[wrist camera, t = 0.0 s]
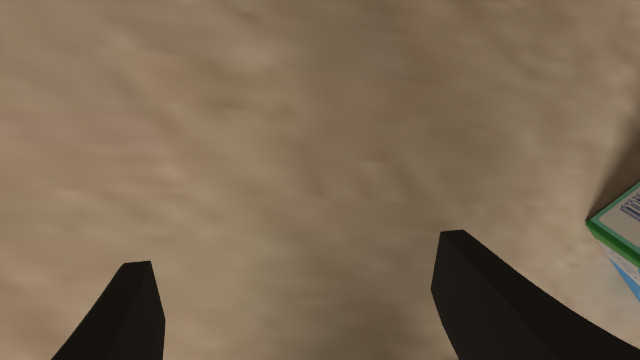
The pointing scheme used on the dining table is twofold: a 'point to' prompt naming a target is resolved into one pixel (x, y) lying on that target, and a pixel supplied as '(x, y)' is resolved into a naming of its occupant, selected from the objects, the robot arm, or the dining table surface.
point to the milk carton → (621, 235)
